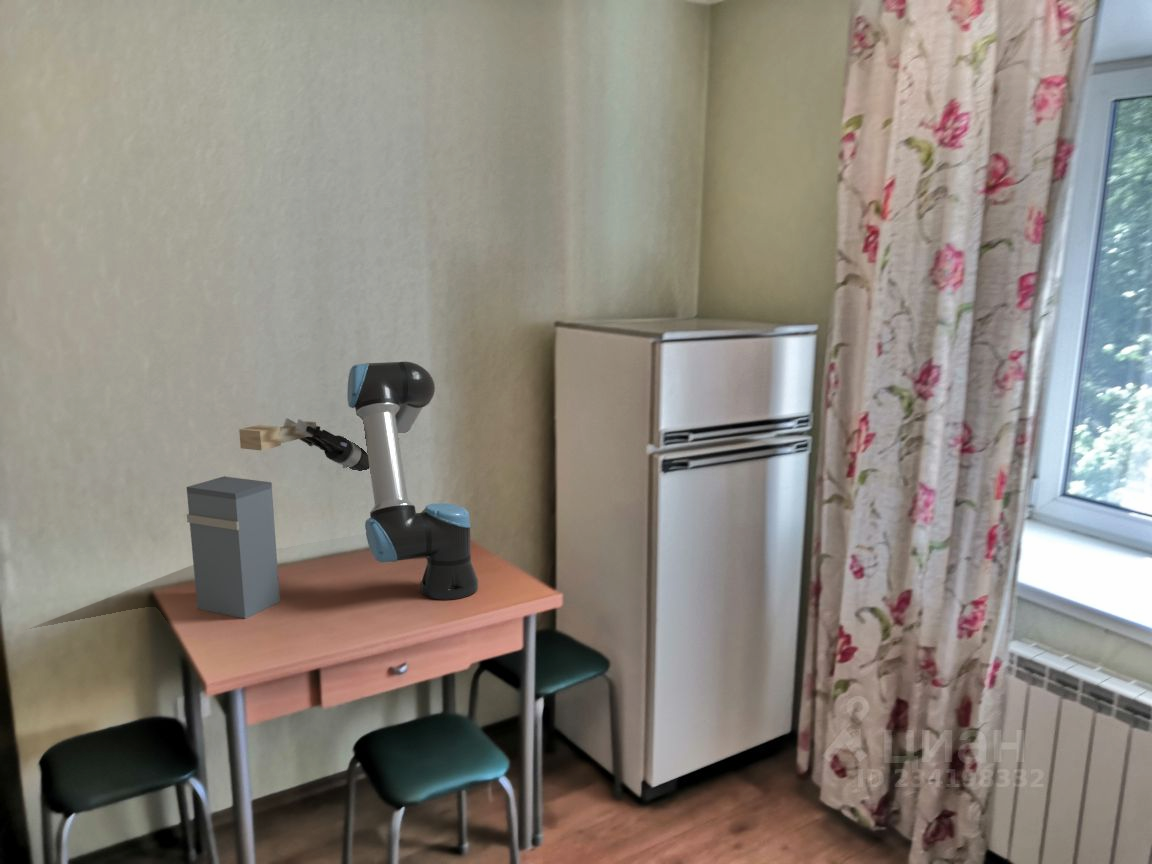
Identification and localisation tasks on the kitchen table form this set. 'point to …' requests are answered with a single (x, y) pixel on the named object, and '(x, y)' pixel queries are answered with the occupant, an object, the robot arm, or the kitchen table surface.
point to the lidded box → (233, 546)
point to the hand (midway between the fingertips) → (291, 423)
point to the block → (269, 436)
